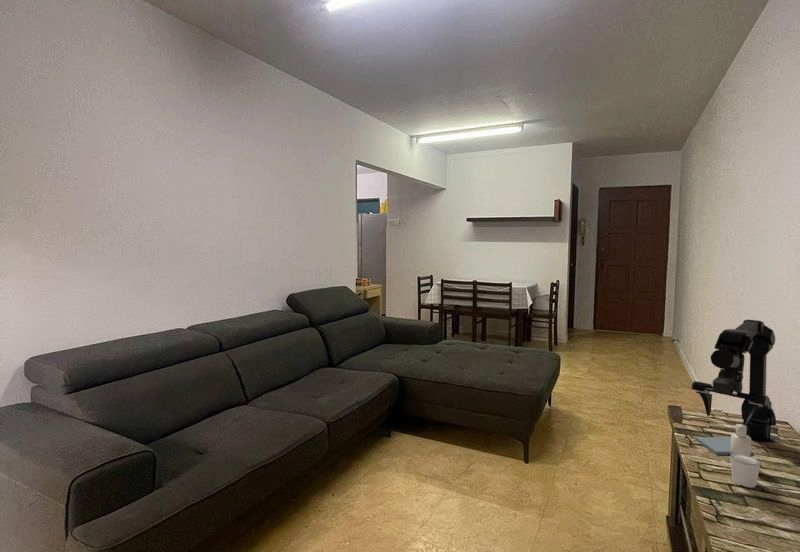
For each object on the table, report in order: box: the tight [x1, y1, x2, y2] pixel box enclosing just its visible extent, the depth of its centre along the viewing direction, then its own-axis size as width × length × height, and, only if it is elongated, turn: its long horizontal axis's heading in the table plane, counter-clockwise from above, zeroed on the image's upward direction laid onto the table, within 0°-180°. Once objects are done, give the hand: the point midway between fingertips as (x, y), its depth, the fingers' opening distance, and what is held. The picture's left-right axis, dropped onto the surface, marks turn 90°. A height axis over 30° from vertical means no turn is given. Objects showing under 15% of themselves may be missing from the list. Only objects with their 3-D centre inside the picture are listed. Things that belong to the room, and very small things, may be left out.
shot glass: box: [729, 454, 761, 488], centre depth 127 cm, size 7×7×7 cm
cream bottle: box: [729, 423, 752, 463], centre depth 137 cm, size 5×5×12 cm
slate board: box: [695, 436, 754, 456], centre depth 149 cm, size 12×11×1 cm
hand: (725, 420), depth 134 cm, fingers open, 9 cm apart
